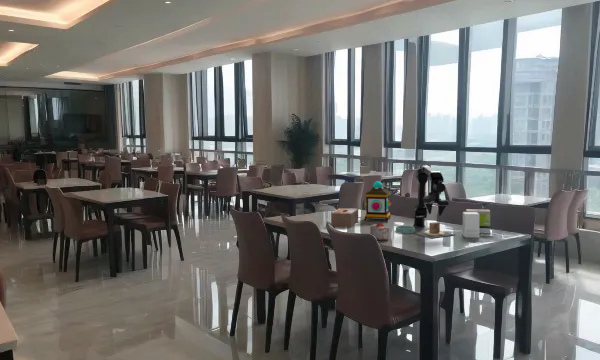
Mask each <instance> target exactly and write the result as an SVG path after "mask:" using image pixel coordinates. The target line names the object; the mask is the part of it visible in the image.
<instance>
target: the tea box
mask: <svg viewBox="0 0 600 360" xmlns="http://www.w3.org/2000/svg"><path fill="white" fill-rule="evenodd" d="M465 212H477V213H478V214H479V234H485V235H486V234H489V235H490V234H491V210H490V209H475V208H474V209H469V208H467V209H465Z"/></svg>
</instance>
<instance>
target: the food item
mask: <svg viewBox="0 0 600 360" xmlns="http://www.w3.org/2000/svg"><path fill="white" fill-rule="evenodd" d="M369 227H370V228H369V229H370V230H369V231H370V232H369V235H370V234H372V235H374V236H375V237H376V239H375V240H378V241H381V240H383V241H389V238H390V237H389V235H390V228H389V227H387V226H385V225H384V224H383V223H374V224H371V225H370V226H369Z"/></svg>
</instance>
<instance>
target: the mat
mask: <svg viewBox="0 0 600 360" xmlns="http://www.w3.org/2000/svg"><path fill="white" fill-rule="evenodd" d="M440 231H441V232H444V233H445V235H443V236H430V235H425V234H424V232H425V231H423V232H416V233H415V232H414V233H413V235H416V236H418V237H419V236H420V237H423V238H427V239H438V238H446V237H447V238H448V237H453V236H454V237H455V236H456V233H451V232H446V231H442V230H440Z"/></svg>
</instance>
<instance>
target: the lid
mask: <svg viewBox="0 0 600 360" xmlns="http://www.w3.org/2000/svg"><path fill="white" fill-rule="evenodd" d="M440 223H441V222H438V221H434V222H429V223H428V224H429V228H428V229H429V230H426V231H423V232H424V234H425V235H430V236H443V235H445V233H444V232H445V231H442V230H441V224H440ZM441 231H442V232H441Z"/></svg>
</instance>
